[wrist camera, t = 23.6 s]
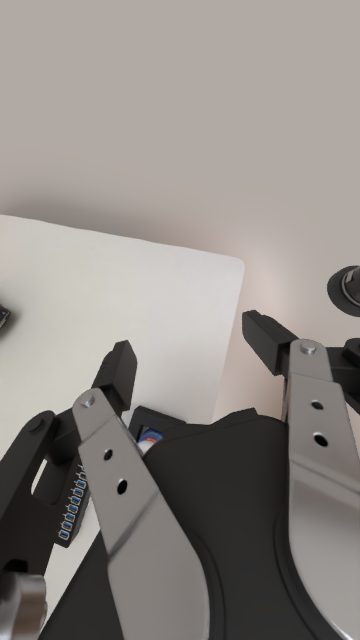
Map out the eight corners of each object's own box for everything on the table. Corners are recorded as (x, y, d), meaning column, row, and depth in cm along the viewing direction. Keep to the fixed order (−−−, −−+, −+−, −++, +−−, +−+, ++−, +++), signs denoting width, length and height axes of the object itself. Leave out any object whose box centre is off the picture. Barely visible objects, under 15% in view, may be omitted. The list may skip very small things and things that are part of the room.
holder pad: (186, 421, 31) (185, 427, 28) (171, 481, 29) (169, 494, 26) (139, 405, 33) (134, 409, 30) (121, 460, 30) (114, 470, 27)
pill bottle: (166, 423, 32) (156, 448, 22) (171, 455, 30) (162, 497, 21) (139, 428, 32) (118, 455, 22) (142, 460, 30) (121, 504, 21)
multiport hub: (55, 525, 28) (44, 538, 26) (87, 434, 32) (79, 440, 30) (77, 535, 28) (67, 549, 26) (107, 441, 31) (101, 447, 29)
